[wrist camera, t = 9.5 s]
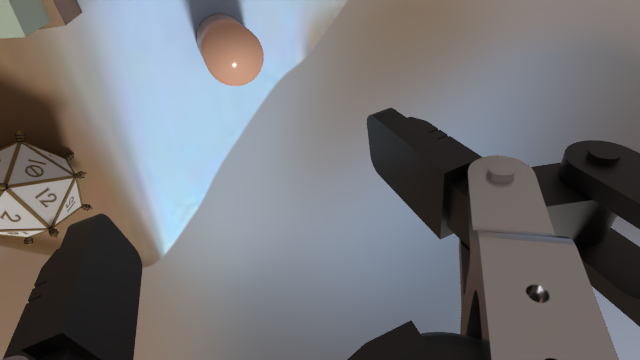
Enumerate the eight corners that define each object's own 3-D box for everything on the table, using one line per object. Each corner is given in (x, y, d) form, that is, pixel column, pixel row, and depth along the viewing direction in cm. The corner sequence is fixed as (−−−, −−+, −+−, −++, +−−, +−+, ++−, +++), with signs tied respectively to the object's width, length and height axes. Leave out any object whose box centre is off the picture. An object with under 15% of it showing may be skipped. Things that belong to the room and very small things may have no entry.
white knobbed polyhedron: (35, 161, 31) (-81, 243, 24) (11, 92, 25) (-150, 173, 18) (122, 201, 32) (37, 291, 25) (120, 143, 27) (7, 239, 19)
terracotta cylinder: (200, 67, 29) (208, 87, 25) (192, 13, 27) (199, 25, 22) (248, 65, 31) (264, 84, 26) (245, 13, 28) (262, 24, 24)
